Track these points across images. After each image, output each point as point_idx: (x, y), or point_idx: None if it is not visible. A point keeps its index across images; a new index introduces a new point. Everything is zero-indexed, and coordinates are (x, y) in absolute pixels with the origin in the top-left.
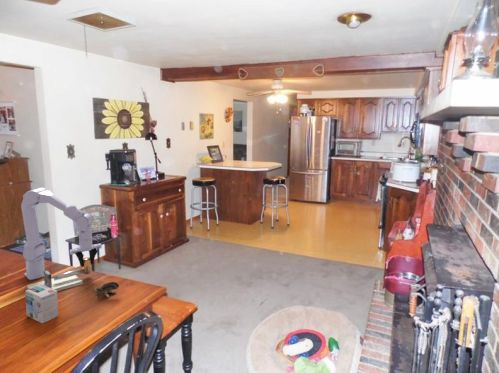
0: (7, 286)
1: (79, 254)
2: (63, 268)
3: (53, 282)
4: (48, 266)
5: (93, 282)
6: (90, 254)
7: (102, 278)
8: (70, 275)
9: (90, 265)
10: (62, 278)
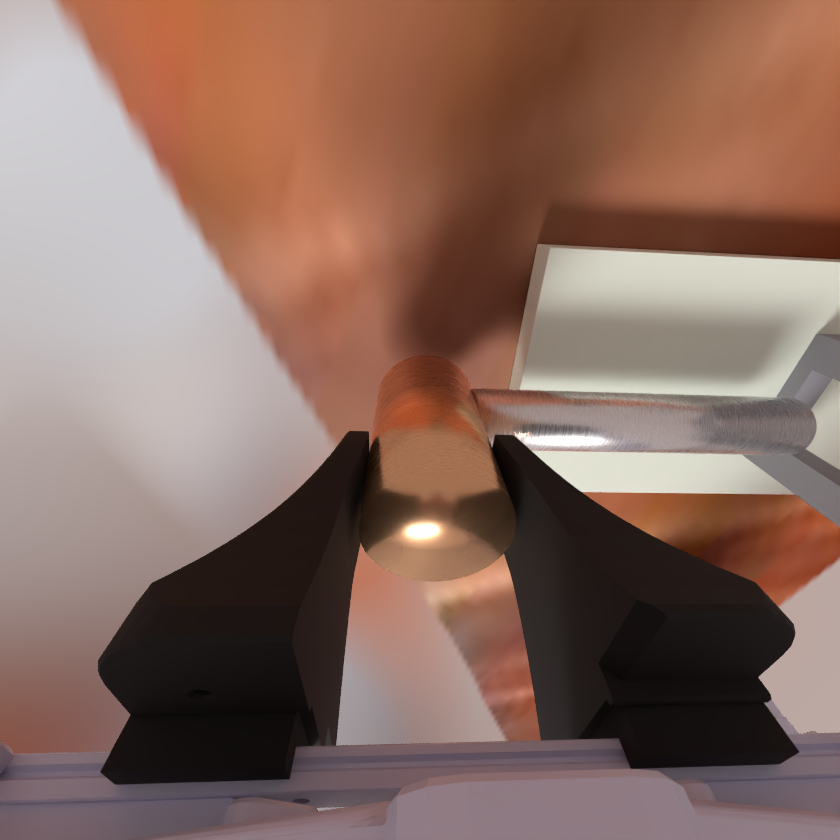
0: (823, 560)
1: (737, 653)
2: (470, 603)
3: None
4: (513, 654)
5: (431, 192)
6: (342, 604)
7: (301, 231)
8: (632, 394)
9: (393, 413)
10: (704, 395)
